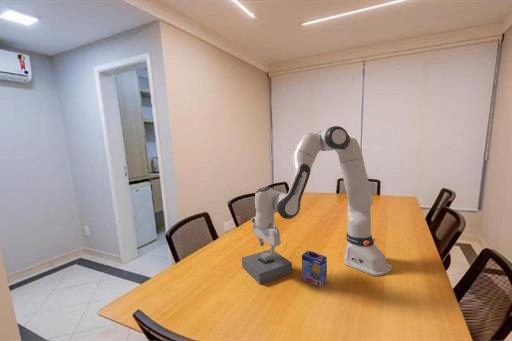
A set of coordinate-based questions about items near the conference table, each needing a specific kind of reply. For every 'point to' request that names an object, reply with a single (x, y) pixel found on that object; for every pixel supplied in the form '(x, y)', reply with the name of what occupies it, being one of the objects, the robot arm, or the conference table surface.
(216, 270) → the conference table surface
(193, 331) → the conference table surface
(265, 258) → the peg
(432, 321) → the conference table surface
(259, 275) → the socket block
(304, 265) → the ink cartridge box
